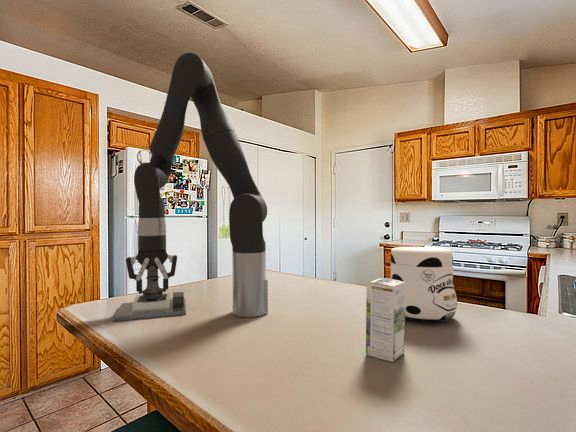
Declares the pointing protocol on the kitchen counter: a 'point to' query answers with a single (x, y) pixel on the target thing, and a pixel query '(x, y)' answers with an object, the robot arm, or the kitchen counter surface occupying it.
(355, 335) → the kitchen counter surface
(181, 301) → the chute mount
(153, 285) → the grey chess piece
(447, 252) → the milk container
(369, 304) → the syrup box
